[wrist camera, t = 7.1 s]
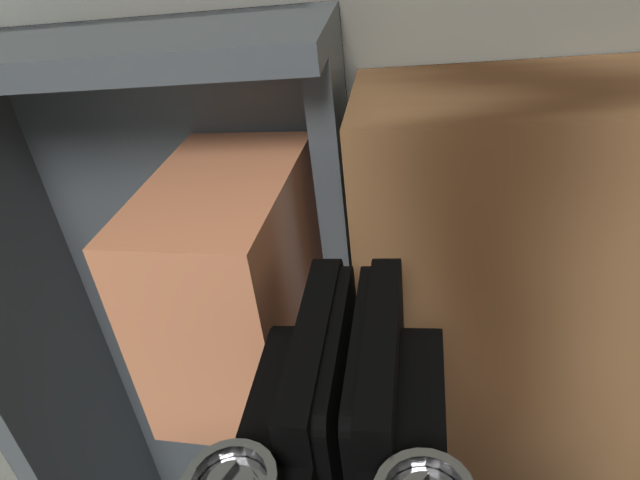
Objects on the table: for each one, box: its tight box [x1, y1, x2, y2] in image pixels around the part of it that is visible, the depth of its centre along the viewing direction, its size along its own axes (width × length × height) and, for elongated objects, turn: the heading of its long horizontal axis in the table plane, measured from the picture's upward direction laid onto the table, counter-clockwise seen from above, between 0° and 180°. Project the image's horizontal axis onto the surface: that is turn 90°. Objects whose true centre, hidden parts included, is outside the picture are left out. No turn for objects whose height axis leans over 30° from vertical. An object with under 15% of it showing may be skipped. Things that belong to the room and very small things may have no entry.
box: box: [0, 0, 352, 480], centre depth 16 cm, size 9×18×5 cm, turn 6°
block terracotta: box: [82, 131, 323, 446], centre depth 13 cm, size 5×5×3 cm
